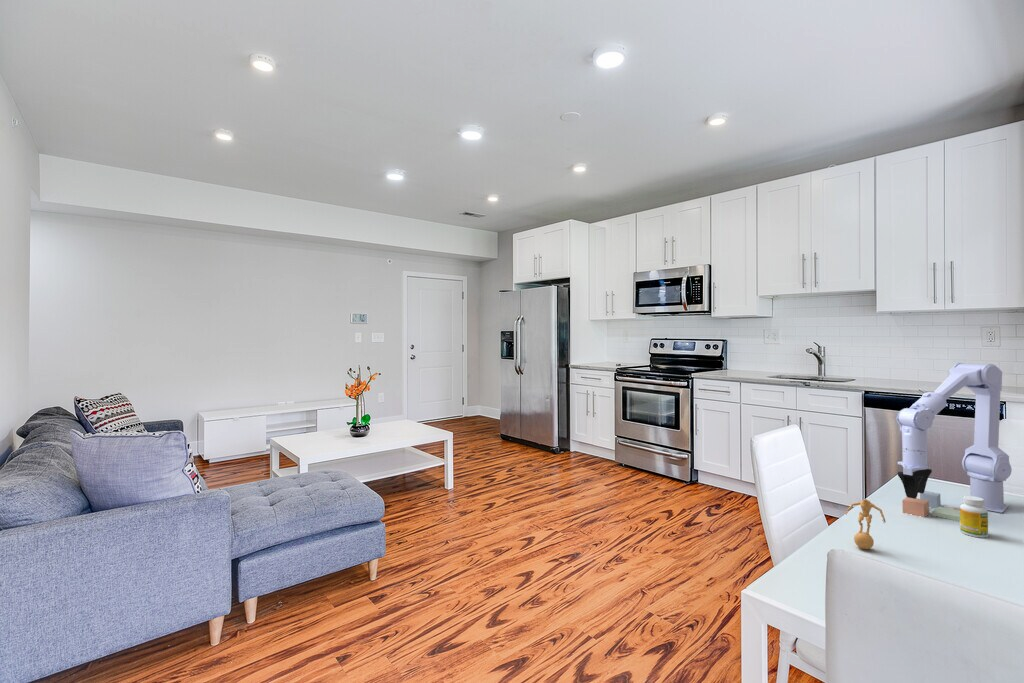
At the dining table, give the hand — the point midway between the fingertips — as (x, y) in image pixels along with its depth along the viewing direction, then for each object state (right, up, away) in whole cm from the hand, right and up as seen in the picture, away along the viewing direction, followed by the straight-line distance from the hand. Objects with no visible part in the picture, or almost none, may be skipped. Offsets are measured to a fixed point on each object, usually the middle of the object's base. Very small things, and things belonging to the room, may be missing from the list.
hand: (915, 495), depth 145 cm
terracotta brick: (0, -6, 0) cm, 6 cm away
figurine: (-31, -6, -23) cm, 39 cm away
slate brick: (+9, -5, +6) cm, 12 cm away
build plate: (+8, -5, -3) cm, 10 cm away
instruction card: (+14, -5, +1) cm, 15 cm away
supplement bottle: (+2, -6, -16) cm, 17 cm away
